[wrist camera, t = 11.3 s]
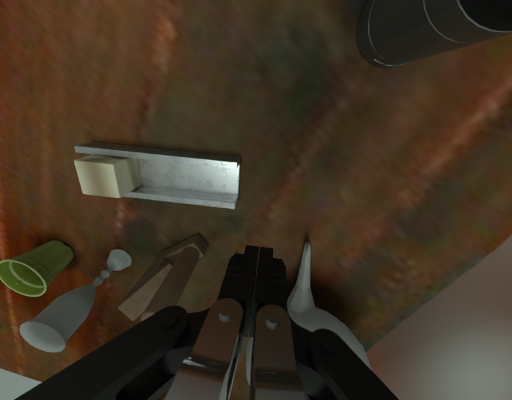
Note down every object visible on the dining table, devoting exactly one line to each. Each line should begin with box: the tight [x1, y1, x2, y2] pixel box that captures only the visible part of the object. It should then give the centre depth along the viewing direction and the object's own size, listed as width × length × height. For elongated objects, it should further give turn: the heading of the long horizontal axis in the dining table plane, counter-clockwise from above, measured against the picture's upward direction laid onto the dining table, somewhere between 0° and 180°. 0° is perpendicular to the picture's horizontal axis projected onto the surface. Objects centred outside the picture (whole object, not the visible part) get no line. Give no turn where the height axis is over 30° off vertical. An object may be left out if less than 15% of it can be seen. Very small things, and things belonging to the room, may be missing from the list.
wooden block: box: [118, 234, 208, 322], centre depth 38 cm, size 4×11×18 cm, turn 120°
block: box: [74, 154, 141, 198], centre depth 36 cm, size 6×5×6 cm
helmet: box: [246, 242, 372, 386], centre depth 36 cm, size 24×29×35 cm
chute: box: [74, 142, 241, 209], centre depth 37 cm, size 26×8×4 cm, turn 85°
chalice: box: [20, 249, 132, 352], centre depth 41 cm, size 7×7×18 cm
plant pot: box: [0, 240, 74, 297], centre depth 45 cm, size 9×9×9 cm
